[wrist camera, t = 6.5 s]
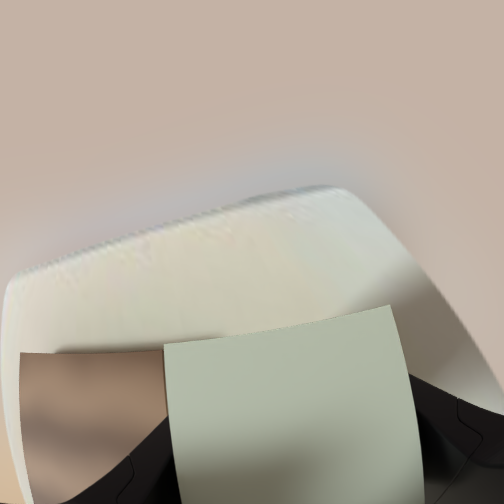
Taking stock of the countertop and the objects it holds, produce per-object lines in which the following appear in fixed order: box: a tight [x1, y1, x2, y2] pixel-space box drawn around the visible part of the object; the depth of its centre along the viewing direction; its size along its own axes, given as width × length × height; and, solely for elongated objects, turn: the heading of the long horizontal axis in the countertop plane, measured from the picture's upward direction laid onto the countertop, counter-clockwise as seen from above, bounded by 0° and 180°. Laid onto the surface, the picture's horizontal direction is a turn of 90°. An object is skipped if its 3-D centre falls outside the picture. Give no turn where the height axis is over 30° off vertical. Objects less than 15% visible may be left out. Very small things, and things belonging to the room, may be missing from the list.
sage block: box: [164, 304, 425, 504], centre depth 9 cm, size 5×5×10 cm
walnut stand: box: [19, 350, 169, 504], centre depth 13 cm, size 13×13×2 cm
